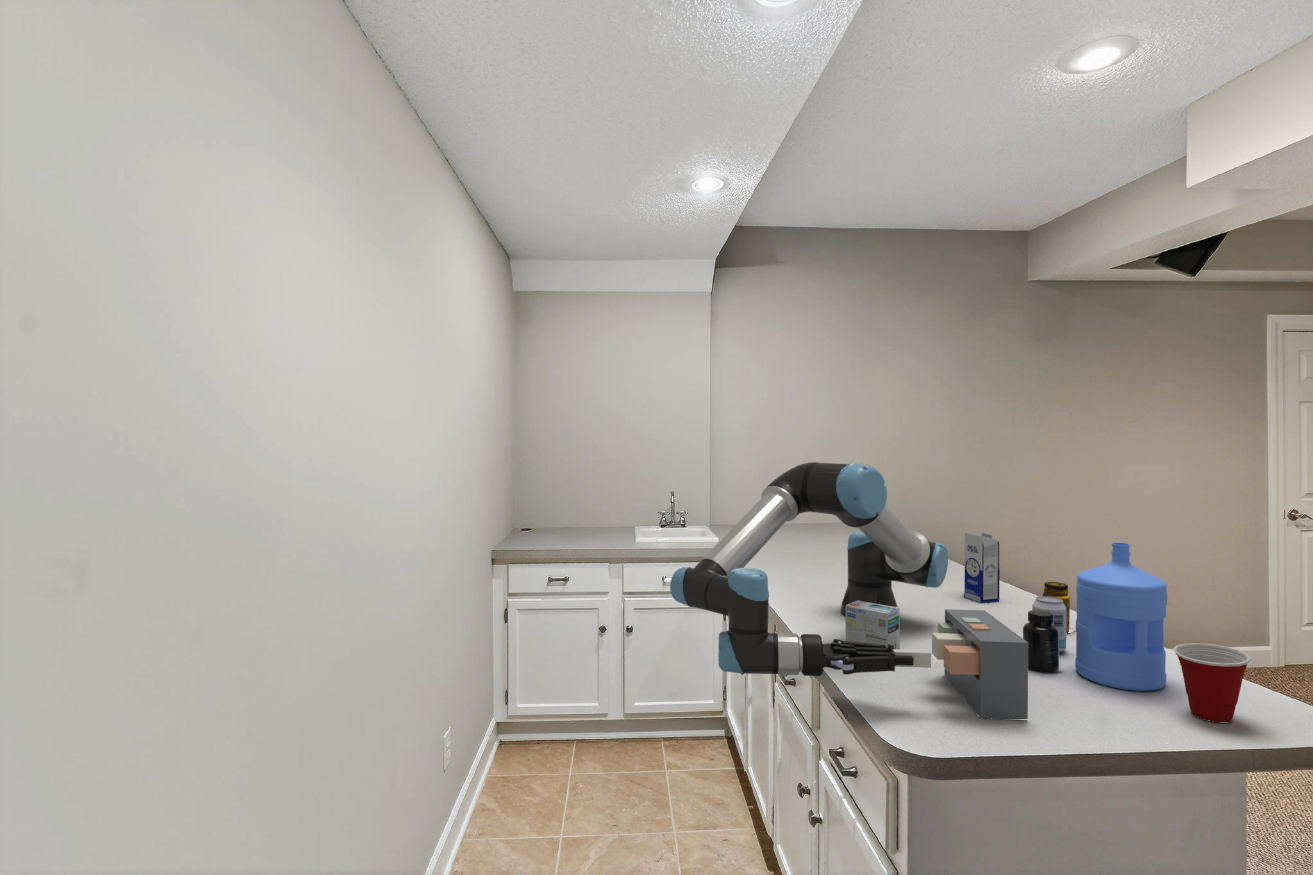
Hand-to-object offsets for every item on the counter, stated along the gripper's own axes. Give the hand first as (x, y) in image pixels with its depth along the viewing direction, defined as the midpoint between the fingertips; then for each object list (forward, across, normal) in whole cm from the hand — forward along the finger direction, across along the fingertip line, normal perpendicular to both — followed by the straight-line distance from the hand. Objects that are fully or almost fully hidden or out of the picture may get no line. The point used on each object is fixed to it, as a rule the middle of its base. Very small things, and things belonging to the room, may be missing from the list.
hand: (929, 659), depth 126 cm
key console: (+12, -8, -10) cm, 17 cm away
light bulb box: (-4, -32, -10) cm, 33 cm away
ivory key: (+7, -8, -2) cm, 10 cm away
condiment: (+45, -53, -10) cm, 70 cm away
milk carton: (+38, -83, -10) cm, 91 cm away
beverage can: (+37, -37, -10) cm, 53 cm away
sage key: (+10, -15, -2) cm, 18 cm away
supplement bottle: (+30, -25, -10) cm, 40 cm away
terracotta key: (+7, 0, -2) cm, 7 cm away
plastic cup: (+49, -2, -10) cm, 50 cm away
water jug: (+44, -20, -10) cm, 49 cm away
